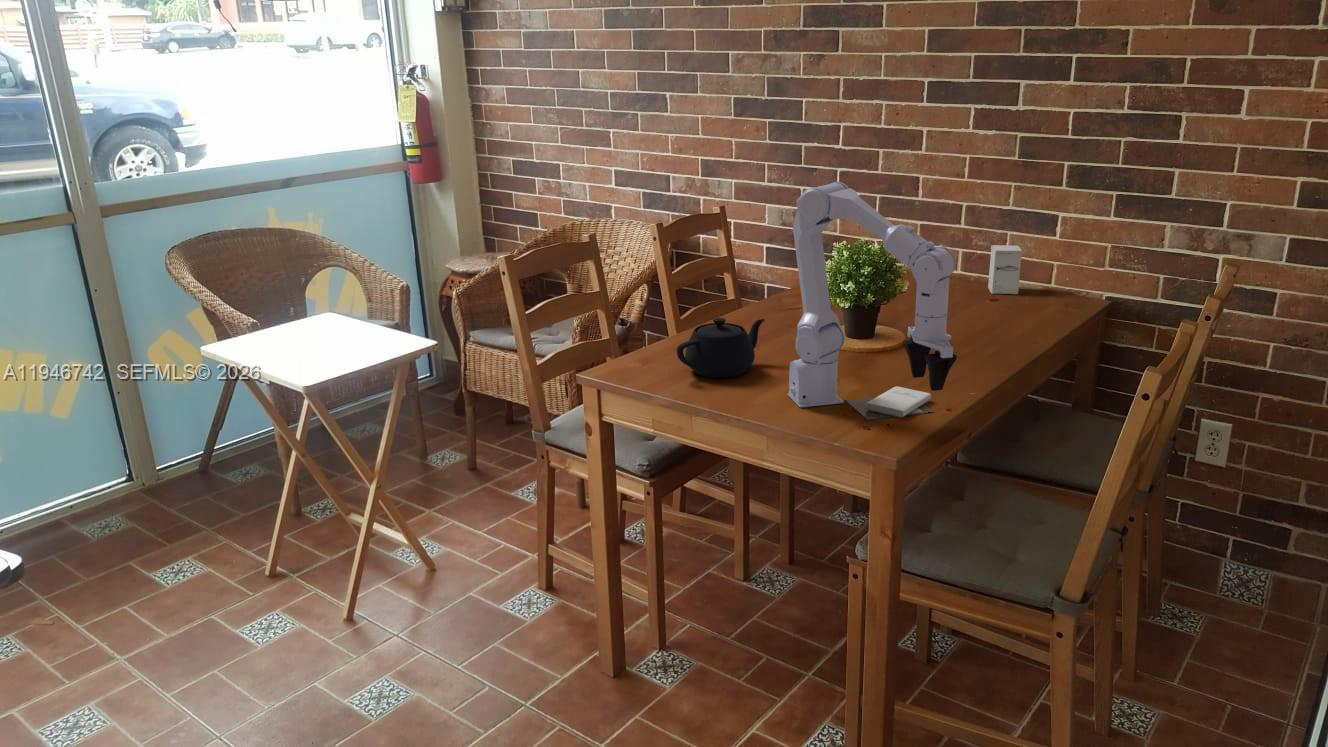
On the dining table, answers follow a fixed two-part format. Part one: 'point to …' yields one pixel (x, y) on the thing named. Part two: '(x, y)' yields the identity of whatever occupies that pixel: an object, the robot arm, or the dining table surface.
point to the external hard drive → (898, 401)
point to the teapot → (720, 349)
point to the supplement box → (1004, 269)
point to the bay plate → (861, 408)
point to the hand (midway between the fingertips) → (927, 383)
